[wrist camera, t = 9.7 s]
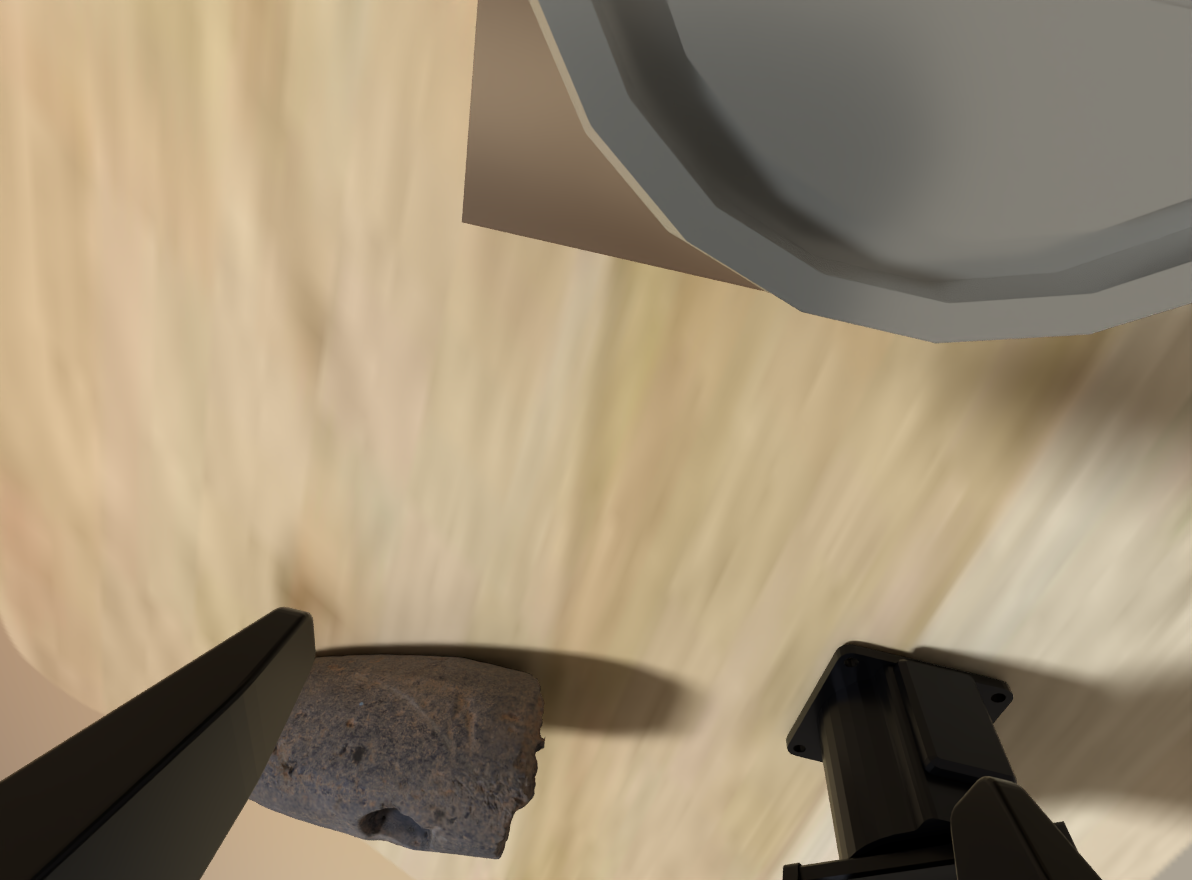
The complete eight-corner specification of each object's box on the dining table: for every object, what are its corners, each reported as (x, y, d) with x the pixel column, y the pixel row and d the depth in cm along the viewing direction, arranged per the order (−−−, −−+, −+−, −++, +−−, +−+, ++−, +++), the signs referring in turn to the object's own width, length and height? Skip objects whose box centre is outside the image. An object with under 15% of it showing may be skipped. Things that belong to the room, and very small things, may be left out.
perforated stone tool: (266, 692, 32) (165, 840, 26) (231, 614, 29) (110, 758, 23) (570, 724, 29) (536, 892, 24) (563, 642, 27) (523, 810, 21)
